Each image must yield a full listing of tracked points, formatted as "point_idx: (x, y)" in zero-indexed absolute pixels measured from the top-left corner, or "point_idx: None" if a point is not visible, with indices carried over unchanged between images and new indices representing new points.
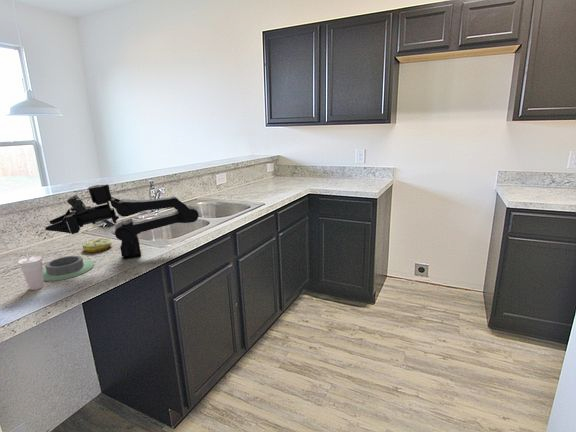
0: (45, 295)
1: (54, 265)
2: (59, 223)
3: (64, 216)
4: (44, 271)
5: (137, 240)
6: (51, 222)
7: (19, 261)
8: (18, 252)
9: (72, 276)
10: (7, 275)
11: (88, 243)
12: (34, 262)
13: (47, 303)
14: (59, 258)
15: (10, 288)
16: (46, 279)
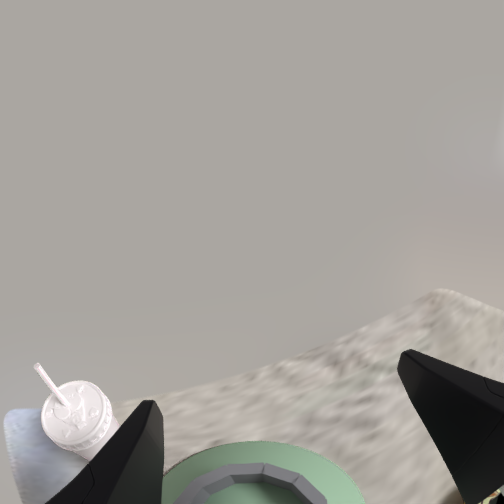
0: (56, 474)
1: (280, 484)
2: (63, 497)
3: (495, 425)
4: (259, 460)
5: None
6: (405, 371)
7: (80, 383)
8: (445, 307)
9: None
10: (279, 366)
11: (492, 494)
12: (43, 422)
13: (18, 469)
14: (305, 492)
15: (162, 404)
16: (164, 481)
